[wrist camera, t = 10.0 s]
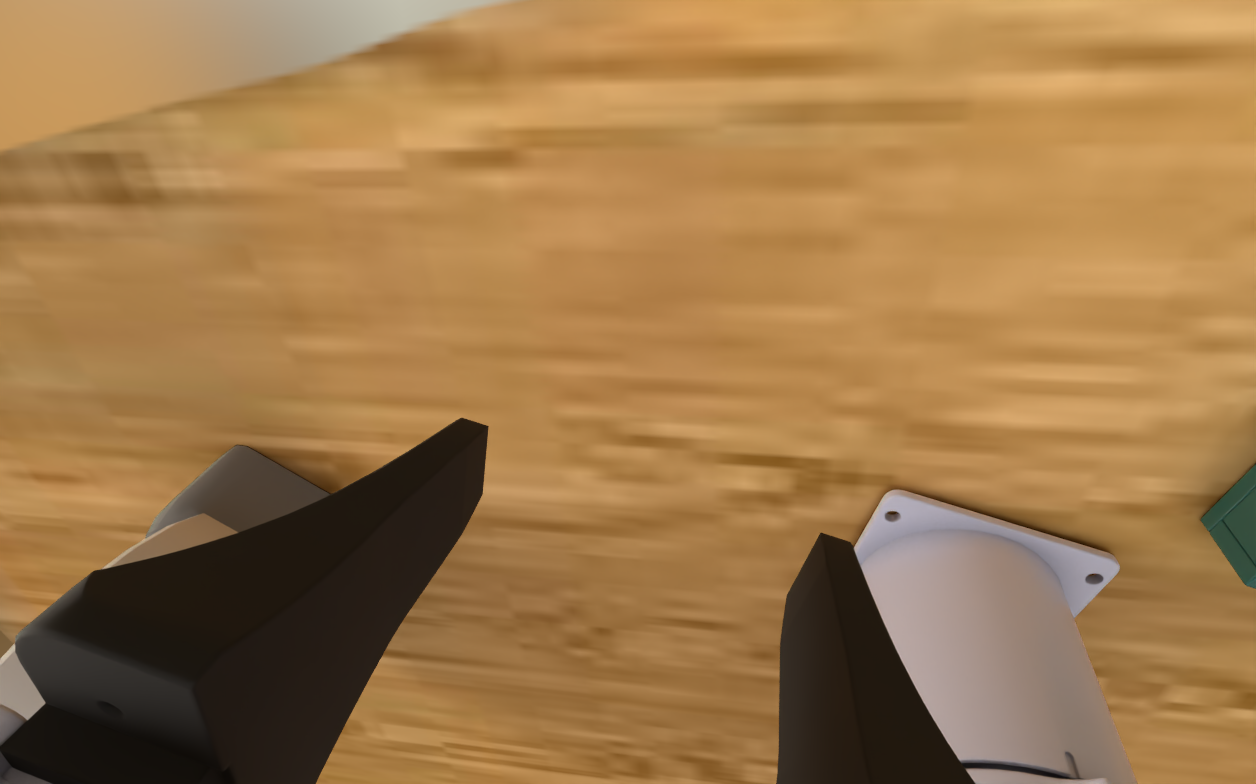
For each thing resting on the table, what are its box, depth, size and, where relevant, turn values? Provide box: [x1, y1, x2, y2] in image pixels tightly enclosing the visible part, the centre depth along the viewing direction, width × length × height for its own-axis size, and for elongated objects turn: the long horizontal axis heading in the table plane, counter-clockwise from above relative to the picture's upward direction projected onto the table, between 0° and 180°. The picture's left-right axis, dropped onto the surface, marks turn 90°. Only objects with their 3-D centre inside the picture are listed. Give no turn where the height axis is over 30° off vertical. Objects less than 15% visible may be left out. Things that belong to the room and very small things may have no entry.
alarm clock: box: [0, 445, 330, 720], centre depth 27 cm, size 16×10×18 cm, turn 151°
